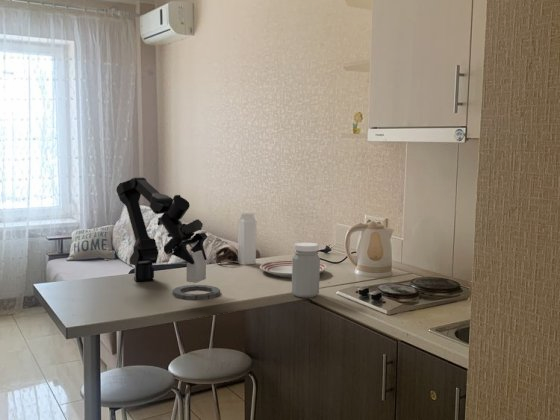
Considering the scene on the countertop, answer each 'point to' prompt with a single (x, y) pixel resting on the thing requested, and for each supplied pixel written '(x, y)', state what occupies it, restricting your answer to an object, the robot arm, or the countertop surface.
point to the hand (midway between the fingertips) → (199, 261)
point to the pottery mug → (226, 255)
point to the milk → (247, 239)
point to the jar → (305, 270)
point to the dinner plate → (283, 268)
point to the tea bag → (196, 268)
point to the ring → (178, 293)
